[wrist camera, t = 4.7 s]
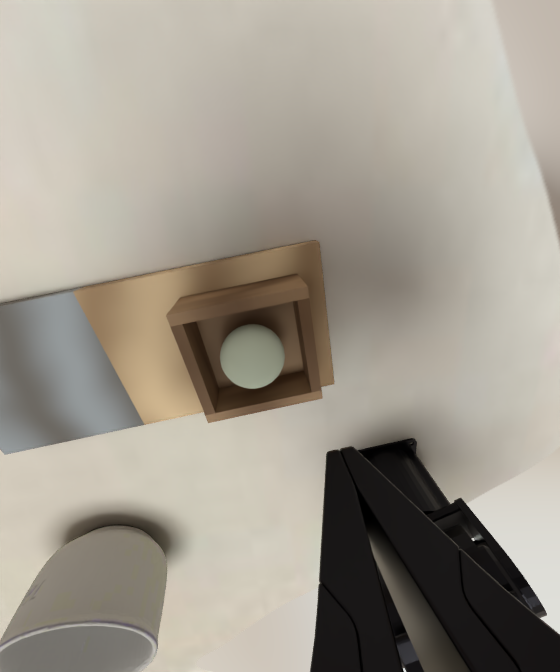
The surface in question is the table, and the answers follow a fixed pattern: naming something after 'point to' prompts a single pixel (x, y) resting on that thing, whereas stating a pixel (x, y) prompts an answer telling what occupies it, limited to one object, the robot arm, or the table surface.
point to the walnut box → (235, 311)
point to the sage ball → (252, 356)
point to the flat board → (123, 348)
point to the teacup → (91, 607)
